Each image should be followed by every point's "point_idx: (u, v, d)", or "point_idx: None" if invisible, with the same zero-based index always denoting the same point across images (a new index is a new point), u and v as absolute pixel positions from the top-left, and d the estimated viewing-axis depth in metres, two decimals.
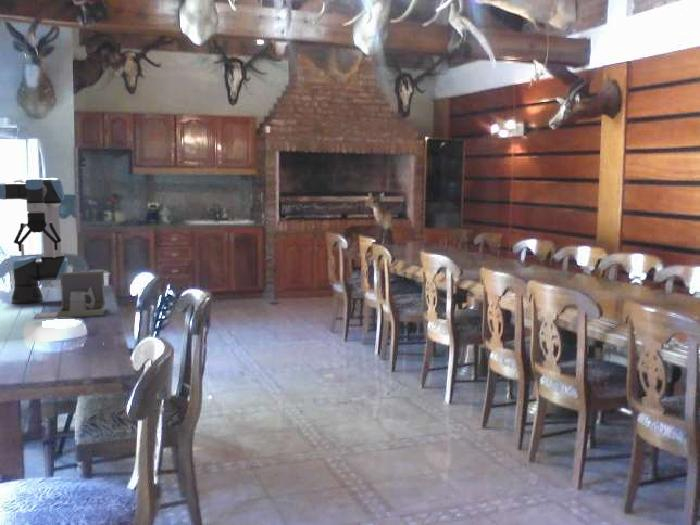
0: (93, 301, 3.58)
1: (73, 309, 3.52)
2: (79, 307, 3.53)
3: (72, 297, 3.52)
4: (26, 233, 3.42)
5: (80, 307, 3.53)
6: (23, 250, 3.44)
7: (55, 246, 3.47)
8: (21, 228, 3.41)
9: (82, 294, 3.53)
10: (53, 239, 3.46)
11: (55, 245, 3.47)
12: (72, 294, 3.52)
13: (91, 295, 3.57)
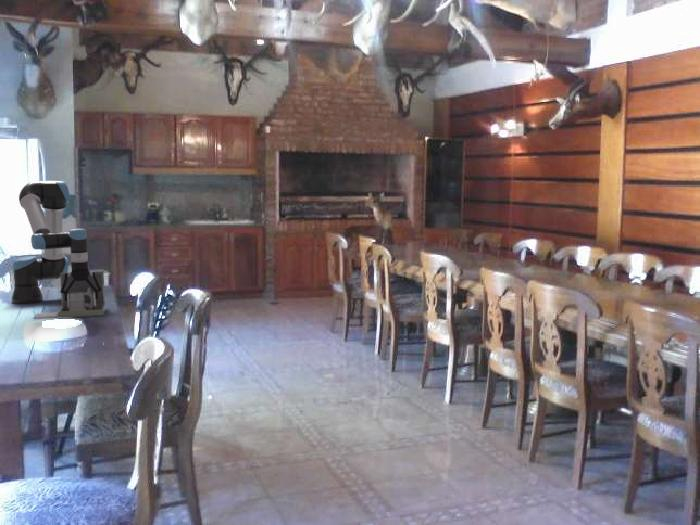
0: (92, 301, 3.58)
1: (73, 309, 3.52)
2: (79, 307, 3.53)
3: (71, 298, 3.52)
4: (71, 282, 3.53)
5: (80, 307, 3.53)
6: None
7: (96, 295, 3.57)
8: (66, 278, 3.52)
9: (81, 294, 3.53)
10: (94, 288, 3.56)
11: (96, 294, 3.57)
12: (71, 295, 3.52)
13: (90, 295, 3.57)
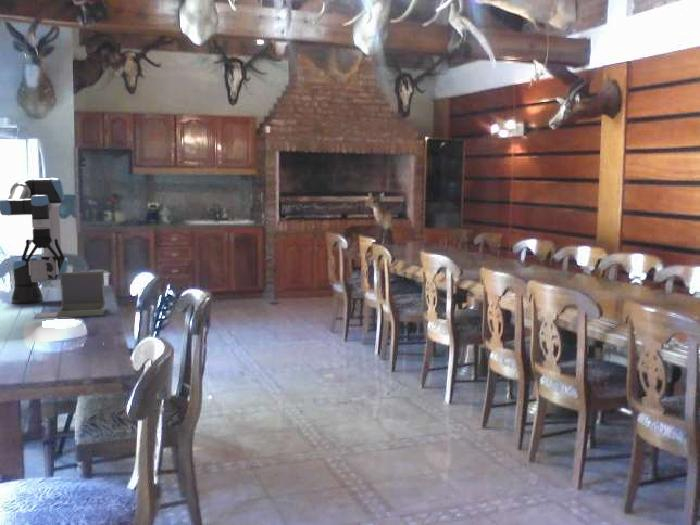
0: (55, 269, 3.51)
1: (35, 277, 3.45)
2: (40, 275, 3.46)
3: (33, 265, 3.45)
4: None
5: (41, 275, 3.46)
6: None
7: (58, 263, 3.50)
8: (27, 245, 3.45)
9: (43, 262, 3.46)
10: (57, 256, 3.49)
11: (58, 262, 3.50)
12: (32, 262, 3.45)
13: (53, 263, 3.50)
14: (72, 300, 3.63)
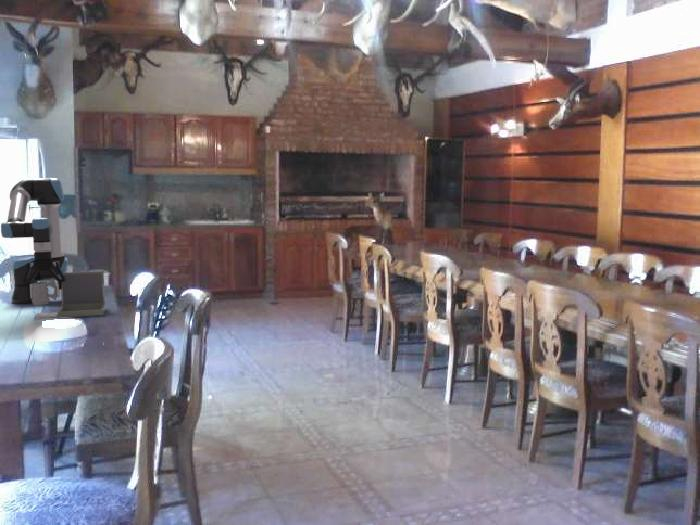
0: (56, 291, 3.52)
1: (36, 300, 3.46)
2: (42, 298, 3.47)
3: (34, 288, 3.46)
4: (34, 272, 3.47)
5: (43, 298, 3.47)
6: None
7: (59, 286, 3.51)
8: (28, 268, 3.46)
9: (44, 284, 3.47)
10: (58, 279, 3.50)
11: (59, 285, 3.51)
12: (34, 285, 3.46)
13: (54, 285, 3.51)
14: (72, 300, 3.63)
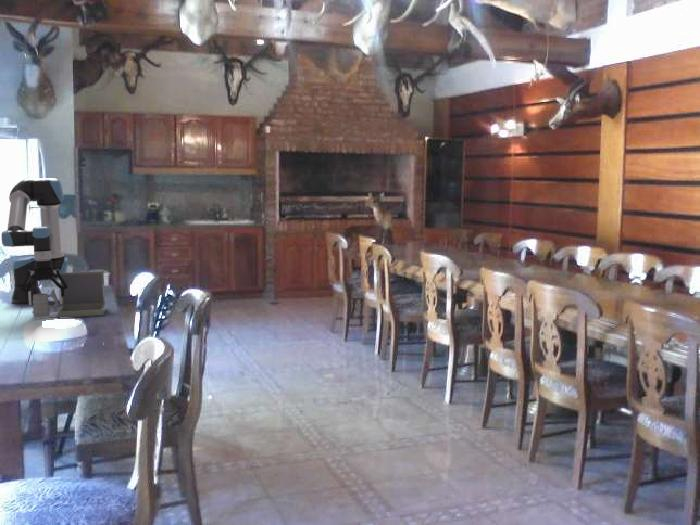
0: (57, 303, 3.53)
1: (37, 311, 3.47)
2: (42, 309, 3.48)
3: (35, 300, 3.47)
4: (33, 280, 3.47)
5: (43, 309, 3.48)
6: (30, 297, 3.49)
7: (62, 293, 3.52)
8: (28, 276, 3.47)
9: (45, 296, 3.48)
10: (60, 286, 3.51)
11: (62, 292, 3.52)
12: (34, 297, 3.47)
13: (54, 297, 3.52)
14: (72, 300, 3.63)
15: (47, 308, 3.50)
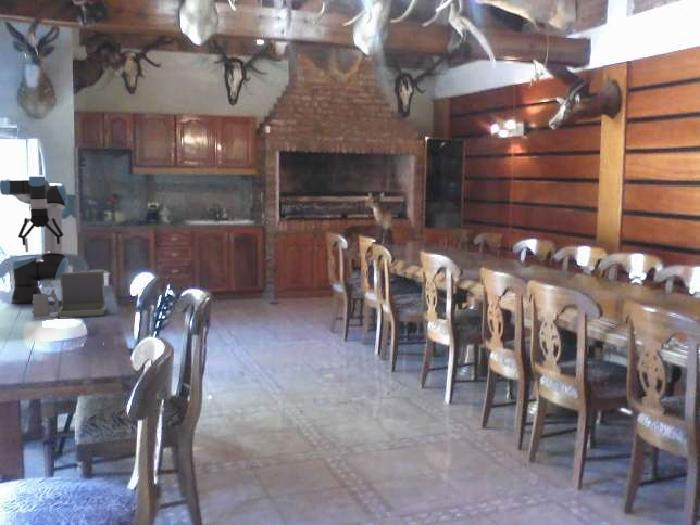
0: (57, 303, 3.53)
1: (37, 311, 3.47)
2: (42, 309, 3.48)
3: (35, 300, 3.47)
4: (30, 228, 3.58)
5: (43, 309, 3.48)
6: (27, 244, 3.60)
7: (57, 240, 3.63)
8: (25, 223, 3.57)
9: (45, 296, 3.48)
10: (55, 233, 3.61)
11: (57, 239, 3.62)
12: (34, 297, 3.47)
13: (54, 297, 3.52)
14: (72, 300, 3.63)
15: (47, 308, 3.50)
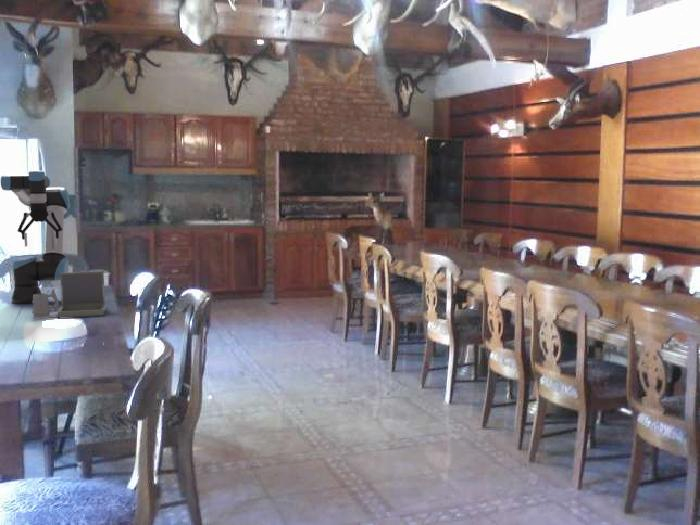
0: (57, 303, 3.53)
1: (37, 311, 3.47)
2: (42, 309, 3.48)
3: (35, 300, 3.47)
4: (29, 222, 3.62)
5: (43, 309, 3.48)
6: (26, 238, 3.63)
7: (56, 235, 3.66)
8: (24, 217, 3.61)
9: (45, 296, 3.48)
10: (54, 228, 3.65)
11: (56, 234, 3.66)
12: (34, 297, 3.47)
13: (54, 297, 3.52)
14: (72, 300, 3.63)
15: (47, 308, 3.50)
